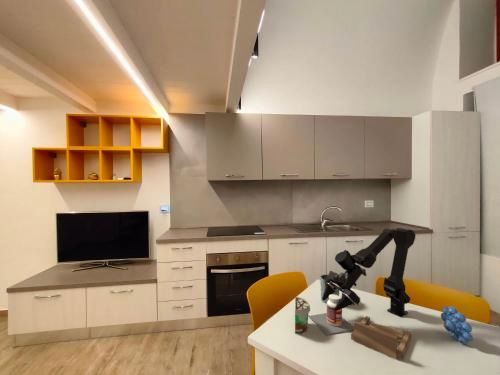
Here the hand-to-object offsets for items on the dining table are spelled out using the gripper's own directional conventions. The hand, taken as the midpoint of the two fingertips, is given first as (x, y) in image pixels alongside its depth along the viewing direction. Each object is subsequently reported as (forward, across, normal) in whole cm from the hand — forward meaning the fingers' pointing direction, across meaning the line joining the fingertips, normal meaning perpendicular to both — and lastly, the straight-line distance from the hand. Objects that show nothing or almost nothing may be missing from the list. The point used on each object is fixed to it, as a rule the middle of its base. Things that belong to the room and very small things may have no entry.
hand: (328, 304), depth 102 cm
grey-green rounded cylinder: (-3, -18, +15) cm, 24 cm away
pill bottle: (+4, +1, +7) cm, 8 cm away
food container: (+14, 0, -3) cm, 15 cm away
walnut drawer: (-4, +14, +15) cm, 21 cm away
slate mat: (+5, 0, +7) cm, 8 cm away
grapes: (-22, +22, +34) cm, 47 cm away
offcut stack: (-6, +12, +18) cm, 23 cm away
